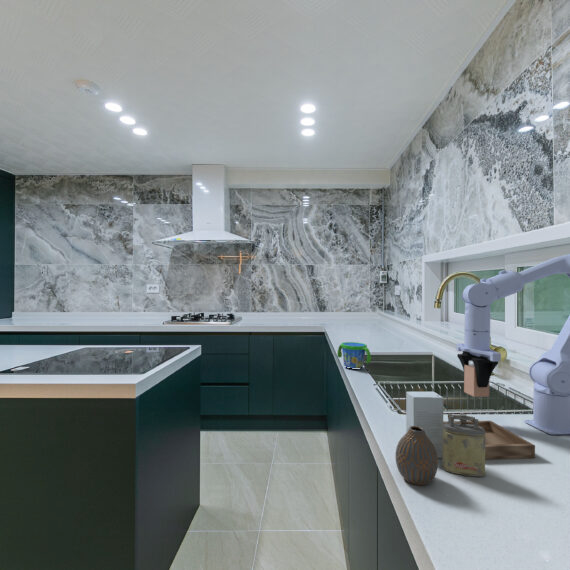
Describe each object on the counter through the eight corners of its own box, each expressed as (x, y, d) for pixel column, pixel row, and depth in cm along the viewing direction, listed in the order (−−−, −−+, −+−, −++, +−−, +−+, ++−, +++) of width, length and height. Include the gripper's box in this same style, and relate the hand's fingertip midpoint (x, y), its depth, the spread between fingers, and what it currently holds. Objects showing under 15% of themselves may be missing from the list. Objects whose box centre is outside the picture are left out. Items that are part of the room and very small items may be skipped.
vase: (390, 468, 64) (391, 420, 64) (428, 469, 64) (429, 421, 64) (402, 489, 57) (402, 436, 57) (444, 491, 57) (445, 437, 57)
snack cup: (376, 370, 143) (376, 345, 143) (359, 373, 137) (359, 347, 137) (348, 363, 155) (348, 340, 156) (331, 366, 149) (331, 342, 149)
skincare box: (433, 448, 72) (434, 391, 72) (443, 458, 68) (444, 397, 68) (404, 448, 72) (405, 390, 72) (413, 458, 68) (414, 397, 68)
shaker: (478, 391, 90) (479, 360, 90) (489, 396, 86) (489, 363, 86) (464, 391, 90) (464, 360, 90) (473, 396, 86) (474, 363, 86)
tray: (490, 431, 82) (490, 420, 82) (534, 458, 69) (535, 445, 69) (437, 432, 81) (437, 421, 81) (473, 459, 68) (473, 446, 68)
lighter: (482, 469, 64) (483, 415, 64) (488, 480, 61) (489, 422, 61) (440, 463, 66) (441, 410, 66) (444, 473, 63) (444, 417, 63)
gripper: (446, 327, 95) (445, 377, 95) (480, 334, 81) (480, 393, 81) (470, 327, 96) (470, 377, 96) (509, 334, 81) (508, 392, 81)
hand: (476, 384), depth 88 cm, fingers closed on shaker, 4 cm apart
